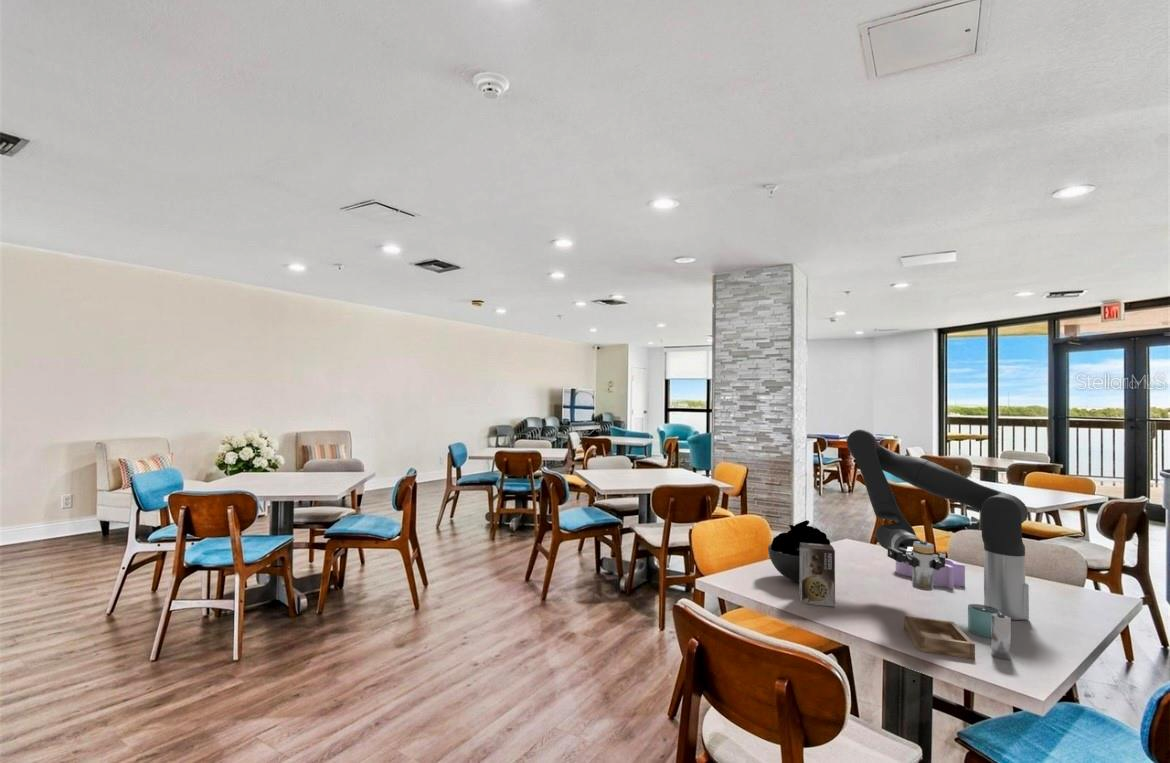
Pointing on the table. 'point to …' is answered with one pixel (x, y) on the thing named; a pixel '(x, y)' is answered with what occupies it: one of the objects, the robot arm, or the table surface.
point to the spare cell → (1001, 636)
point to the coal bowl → (793, 548)
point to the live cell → (923, 565)
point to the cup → (980, 619)
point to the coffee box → (817, 574)
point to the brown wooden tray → (939, 637)
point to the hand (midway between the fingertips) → (926, 564)
